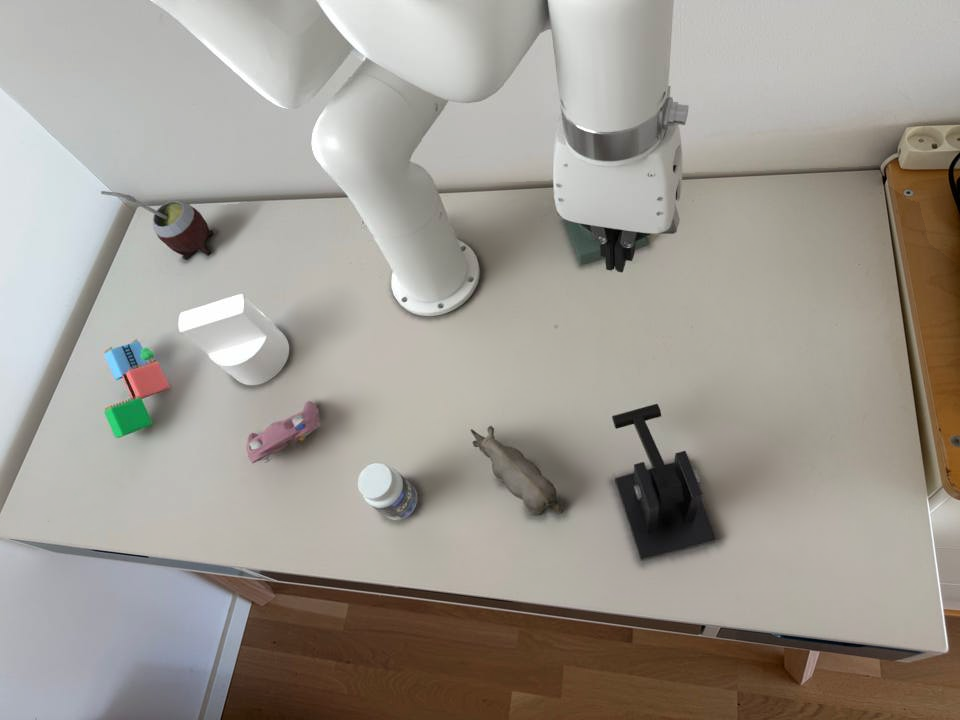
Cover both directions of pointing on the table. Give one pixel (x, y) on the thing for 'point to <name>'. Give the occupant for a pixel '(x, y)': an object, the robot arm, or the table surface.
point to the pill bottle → (387, 491)
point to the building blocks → (133, 386)
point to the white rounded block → (237, 338)
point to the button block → (589, 243)
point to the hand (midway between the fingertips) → (618, 259)
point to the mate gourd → (177, 226)
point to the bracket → (664, 512)
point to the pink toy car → (282, 433)
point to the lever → (653, 454)
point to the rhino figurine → (519, 474)
